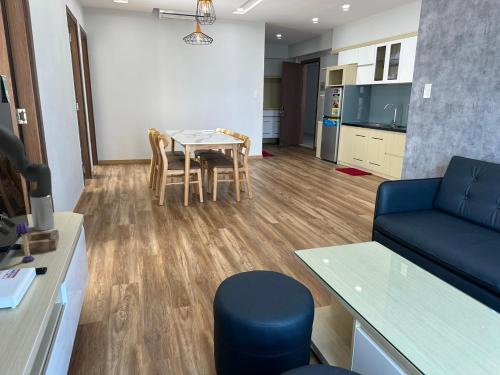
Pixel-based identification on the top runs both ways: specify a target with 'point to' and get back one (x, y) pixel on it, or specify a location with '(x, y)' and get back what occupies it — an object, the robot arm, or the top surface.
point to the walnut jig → (41, 241)
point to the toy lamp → (24, 240)
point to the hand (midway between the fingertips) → (11, 230)
